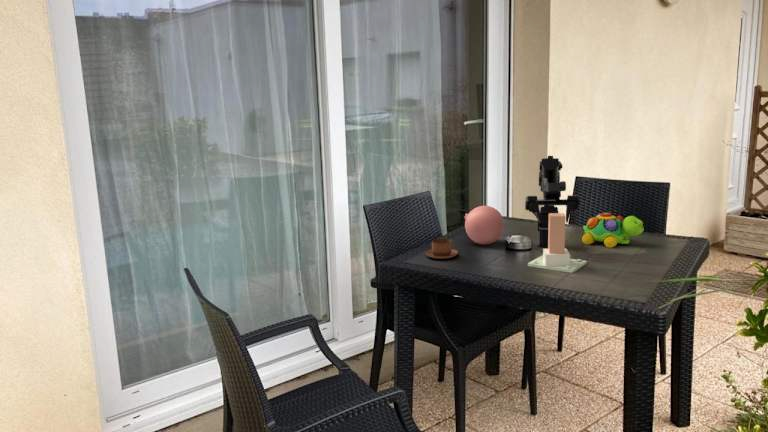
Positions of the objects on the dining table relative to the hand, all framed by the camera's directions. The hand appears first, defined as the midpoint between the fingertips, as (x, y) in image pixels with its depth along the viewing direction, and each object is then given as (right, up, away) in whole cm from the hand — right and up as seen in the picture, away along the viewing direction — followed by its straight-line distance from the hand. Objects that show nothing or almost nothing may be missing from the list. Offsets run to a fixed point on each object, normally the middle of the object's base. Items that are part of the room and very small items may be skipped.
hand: (553, 222), depth 224 cm
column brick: (-1, -10, -6) cm, 12 cm away
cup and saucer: (-39, -13, +12) cm, 43 cm away
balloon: (-21, -9, +30) cm, 38 cm away
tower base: (0, -15, -4) cm, 15 cm away
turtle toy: (+29, -9, +23) cm, 38 cm away
